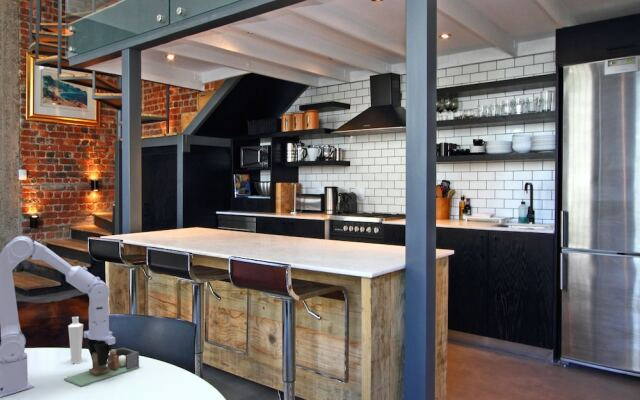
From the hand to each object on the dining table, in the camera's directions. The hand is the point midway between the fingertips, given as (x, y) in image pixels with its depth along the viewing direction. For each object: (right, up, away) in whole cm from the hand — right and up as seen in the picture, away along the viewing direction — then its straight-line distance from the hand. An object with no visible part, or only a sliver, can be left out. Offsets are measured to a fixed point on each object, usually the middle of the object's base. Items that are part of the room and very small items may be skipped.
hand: (99, 363), depth 158 cm
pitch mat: (0, -3, +1) cm, 3 cm away
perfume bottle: (-13, -4, +12) cm, 18 cm away
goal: (+5, -3, +7) cm, 9 cm away
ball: (+5, -1, +6) cm, 8 cm away
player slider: (+1, -3, +1) cm, 3 cm away
